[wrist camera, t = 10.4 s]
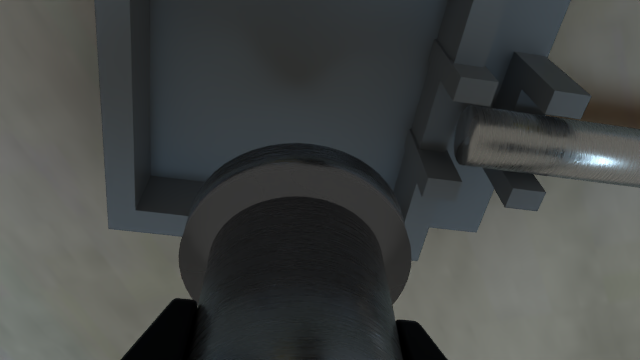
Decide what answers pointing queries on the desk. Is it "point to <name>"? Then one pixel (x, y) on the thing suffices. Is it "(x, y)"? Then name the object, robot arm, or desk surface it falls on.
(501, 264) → the desk surface
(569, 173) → the pin
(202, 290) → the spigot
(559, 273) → the desk surface
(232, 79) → the tray
